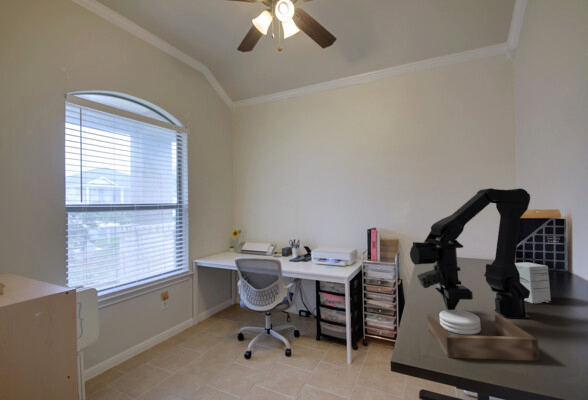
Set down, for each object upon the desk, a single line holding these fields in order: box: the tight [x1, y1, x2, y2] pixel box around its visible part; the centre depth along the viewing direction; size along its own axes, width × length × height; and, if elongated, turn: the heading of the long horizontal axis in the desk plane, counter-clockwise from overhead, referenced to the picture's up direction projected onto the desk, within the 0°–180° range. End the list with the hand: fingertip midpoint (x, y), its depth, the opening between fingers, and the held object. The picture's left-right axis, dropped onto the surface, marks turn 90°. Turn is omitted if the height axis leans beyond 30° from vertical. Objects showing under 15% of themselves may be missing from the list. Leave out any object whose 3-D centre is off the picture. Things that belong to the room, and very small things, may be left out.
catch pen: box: [426, 314, 541, 362], centre depth 67 cm, size 18×14×4 cm
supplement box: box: [515, 261, 552, 304], centre depth 97 cm, size 7×7×13 cm
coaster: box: [438, 309, 482, 336], centre depth 77 cm, size 10×10×4 cm
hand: (450, 313), depth 83 cm, fingers closed
